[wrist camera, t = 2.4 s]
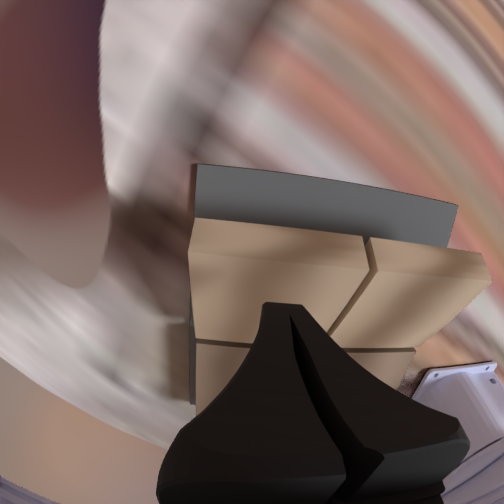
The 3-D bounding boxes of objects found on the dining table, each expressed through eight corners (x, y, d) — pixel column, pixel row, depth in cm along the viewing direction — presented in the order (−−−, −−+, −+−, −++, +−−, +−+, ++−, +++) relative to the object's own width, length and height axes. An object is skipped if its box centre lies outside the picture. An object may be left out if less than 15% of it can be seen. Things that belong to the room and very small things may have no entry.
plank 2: (481, 253, 14) (492, 281, 13) (413, 323, 20) (418, 347, 19) (369, 237, 13) (378, 270, 12) (320, 321, 20) (321, 347, 18)
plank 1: (361, 236, 13) (369, 270, 12) (313, 320, 20) (315, 347, 18) (195, 217, 13) (187, 252, 12) (199, 311, 19) (195, 337, 18)
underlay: (455, 204, 17) (458, 205, 17) (375, 405, 24) (376, 408, 24) (198, 163, 16) (197, 164, 16) (190, 401, 23) (190, 404, 23)
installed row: (406, 336, 21) (416, 351, 19) (372, 405, 24) (378, 420, 22) (199, 325, 20) (196, 343, 18) (198, 401, 23) (195, 418, 21)
